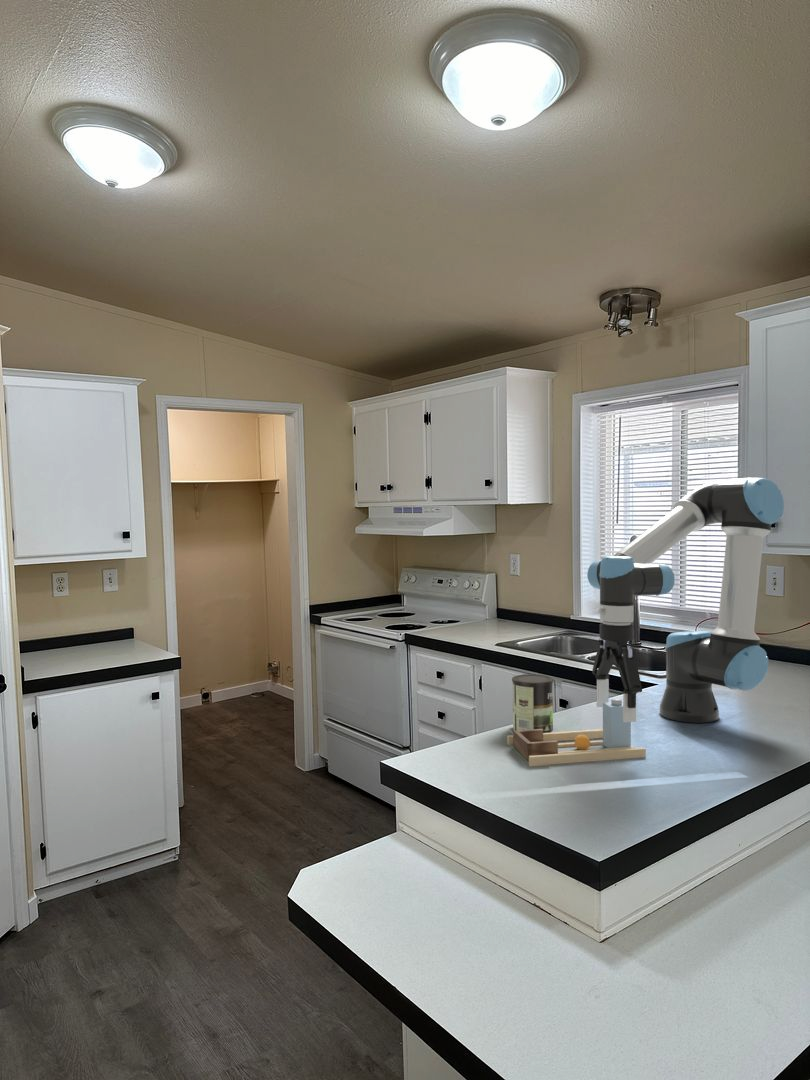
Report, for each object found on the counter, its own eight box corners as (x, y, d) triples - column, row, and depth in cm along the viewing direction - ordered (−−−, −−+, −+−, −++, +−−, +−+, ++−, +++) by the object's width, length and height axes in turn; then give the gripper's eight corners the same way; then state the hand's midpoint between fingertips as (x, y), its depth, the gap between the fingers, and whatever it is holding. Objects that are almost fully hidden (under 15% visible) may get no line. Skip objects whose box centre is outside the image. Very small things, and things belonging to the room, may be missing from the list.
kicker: (622, 743, 172) (622, 697, 172) (630, 748, 168) (630, 701, 168) (602, 744, 171) (602, 698, 171) (610, 750, 167) (610, 702, 167)
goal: (541, 745, 172) (541, 728, 172) (557, 759, 162) (557, 741, 162) (513, 747, 170) (513, 730, 170) (527, 761, 161) (527, 743, 161)
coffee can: (553, 728, 189) (553, 674, 189) (553, 740, 179) (553, 683, 178) (513, 726, 191) (513, 673, 191) (511, 738, 181) (510, 682, 180)
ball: (586, 747, 170) (586, 732, 170) (592, 751, 167) (592, 736, 167) (572, 748, 170) (572, 733, 169) (578, 752, 166) (578, 737, 166)
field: (613, 740, 178) (613, 728, 178) (645, 762, 162) (645, 748, 162) (507, 747, 173) (507, 735, 173) (530, 771, 158) (530, 757, 158)
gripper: (579, 616, 180) (578, 701, 181) (626, 631, 156) (625, 729, 156) (607, 615, 182) (606, 699, 182) (659, 630, 157) (657, 727, 158)
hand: (615, 713), depth 169 cm, fingers open, 13 cm apart
